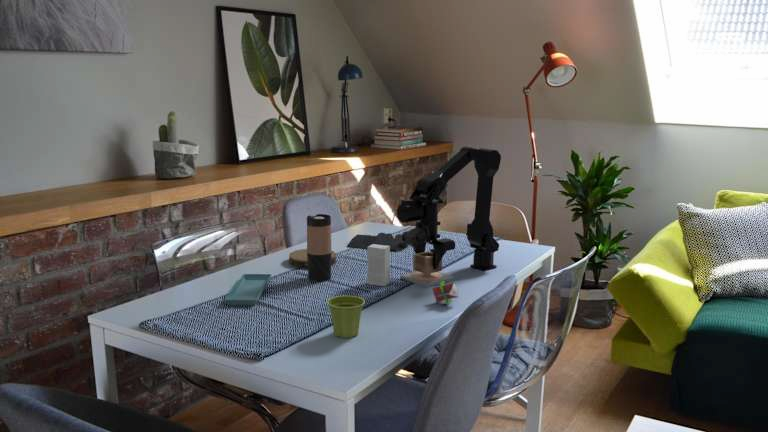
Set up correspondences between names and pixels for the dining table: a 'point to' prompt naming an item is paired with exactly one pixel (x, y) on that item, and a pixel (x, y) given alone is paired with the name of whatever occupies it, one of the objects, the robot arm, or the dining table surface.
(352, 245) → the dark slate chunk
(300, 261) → the round wooden board
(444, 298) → the geometric puzzle
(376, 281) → the skincare box
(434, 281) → the beige round peg stand
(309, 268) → the travel mug
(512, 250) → the dining table surface
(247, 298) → the teal serving tray
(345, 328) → the plant pot
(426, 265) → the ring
